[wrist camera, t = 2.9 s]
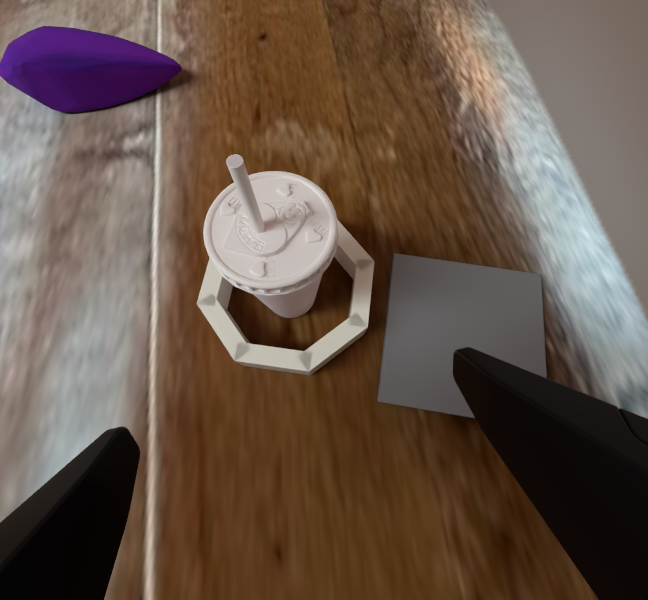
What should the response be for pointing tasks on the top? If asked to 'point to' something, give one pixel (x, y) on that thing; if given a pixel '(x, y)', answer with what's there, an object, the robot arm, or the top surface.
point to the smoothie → (272, 237)
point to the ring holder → (288, 360)
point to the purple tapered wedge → (83, 68)
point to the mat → (455, 328)
